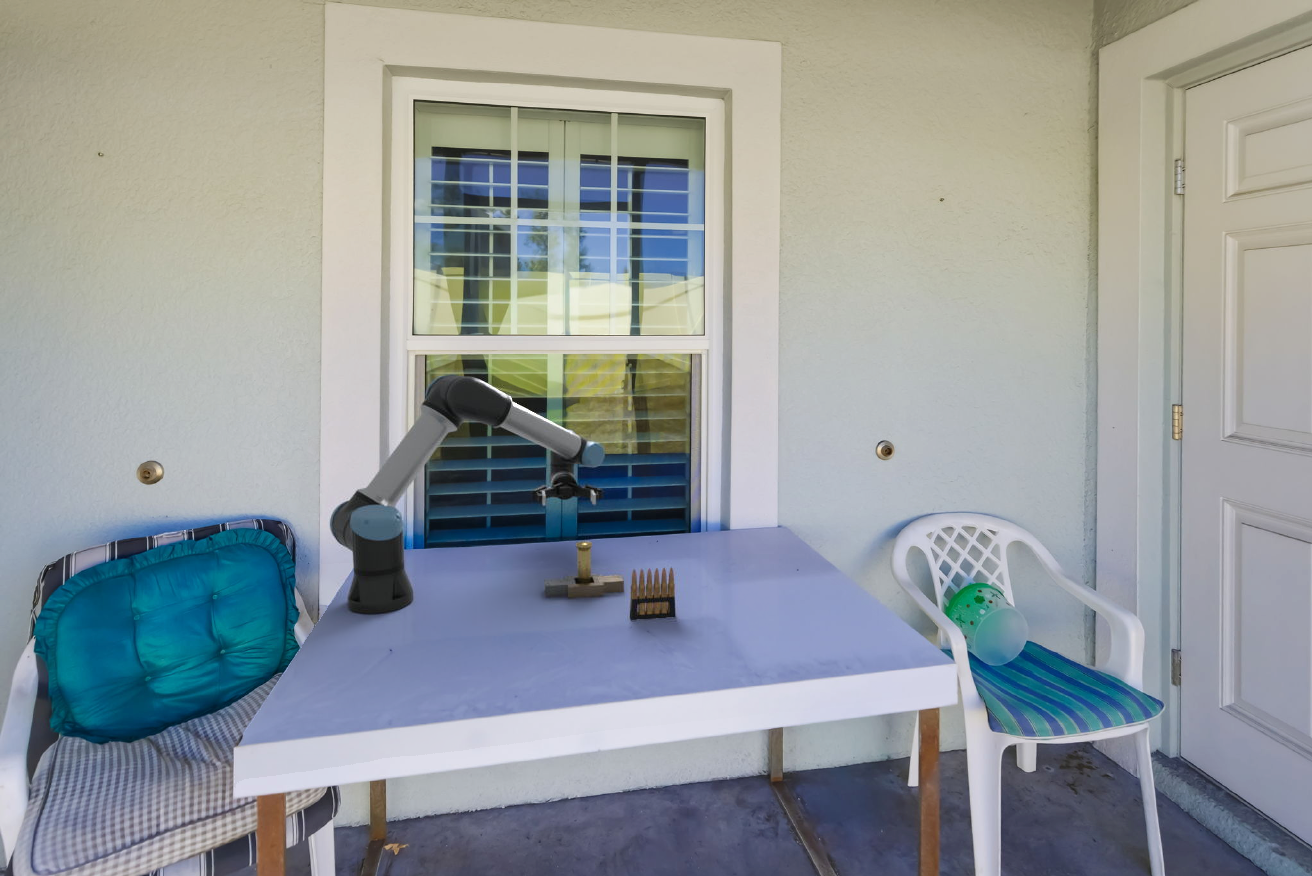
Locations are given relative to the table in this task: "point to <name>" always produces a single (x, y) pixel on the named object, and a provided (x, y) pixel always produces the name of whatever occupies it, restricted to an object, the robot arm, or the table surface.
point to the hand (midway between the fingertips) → (569, 500)
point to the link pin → (584, 561)
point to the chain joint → (584, 586)
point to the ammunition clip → (652, 596)
